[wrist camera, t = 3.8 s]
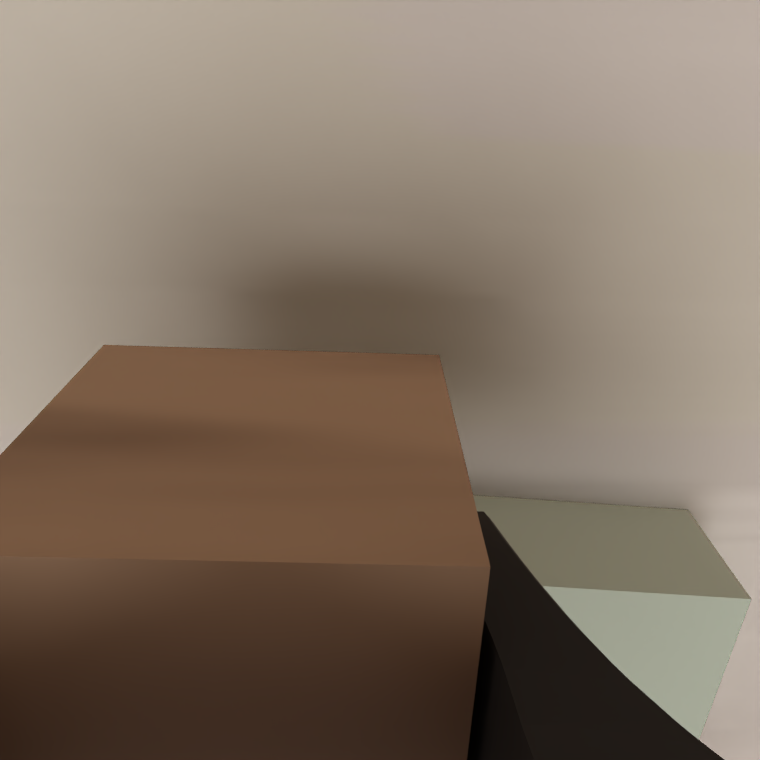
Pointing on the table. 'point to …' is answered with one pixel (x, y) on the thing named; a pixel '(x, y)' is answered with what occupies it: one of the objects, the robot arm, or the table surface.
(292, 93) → the table surface
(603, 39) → the table surface
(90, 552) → the walnut cube
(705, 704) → the sage block
